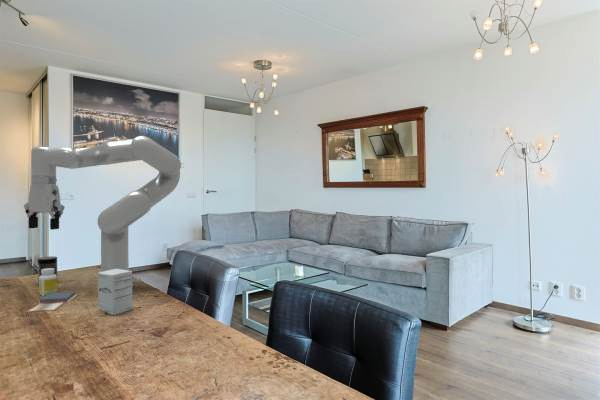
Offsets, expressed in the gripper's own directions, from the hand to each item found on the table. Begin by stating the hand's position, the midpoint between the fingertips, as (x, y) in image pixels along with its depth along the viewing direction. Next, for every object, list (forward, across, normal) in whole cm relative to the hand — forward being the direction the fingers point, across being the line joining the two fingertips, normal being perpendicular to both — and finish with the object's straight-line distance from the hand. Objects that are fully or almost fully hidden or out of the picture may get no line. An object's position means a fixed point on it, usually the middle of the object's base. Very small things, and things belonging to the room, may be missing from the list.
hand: (43, 228), depth 140 cm
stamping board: (+24, -14, +9) cm, 29 cm away
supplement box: (+24, -38, +8) cm, 46 cm away
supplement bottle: (+24, -3, +1) cm, 25 cm away
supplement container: (+24, +13, -13) cm, 31 cm away
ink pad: (+23, -12, +5) cm, 26 cm away
